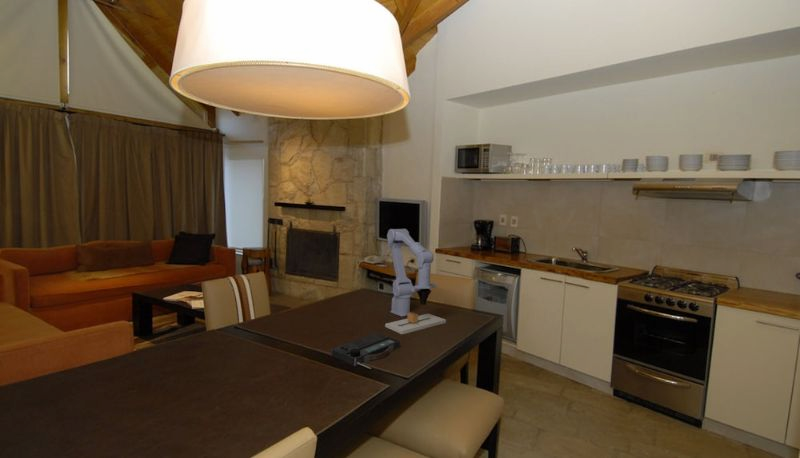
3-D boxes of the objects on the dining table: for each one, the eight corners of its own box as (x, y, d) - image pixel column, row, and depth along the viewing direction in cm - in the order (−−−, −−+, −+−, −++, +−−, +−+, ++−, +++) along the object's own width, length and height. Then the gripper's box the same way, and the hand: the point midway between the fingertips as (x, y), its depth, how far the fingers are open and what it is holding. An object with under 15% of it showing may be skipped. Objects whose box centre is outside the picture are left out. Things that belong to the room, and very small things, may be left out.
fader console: (385, 326, 187) (385, 323, 187) (428, 316, 205) (428, 313, 205) (402, 334, 178) (402, 330, 178) (445, 322, 196) (445, 319, 196)
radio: (376, 329, 171) (413, 342, 159) (376, 339, 172) (413, 352, 159) (331, 345, 152) (368, 361, 139) (330, 356, 153) (368, 373, 140)
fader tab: (407, 320, 190) (407, 312, 190) (412, 319, 192) (412, 311, 192) (413, 323, 187) (413, 314, 187) (417, 321, 189) (418, 313, 189)
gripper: (418, 279, 184) (417, 308, 185) (440, 276, 194) (439, 304, 195) (408, 276, 190) (407, 305, 191) (430, 273, 199) (429, 300, 200)
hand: (423, 304), depth 193 cm, fingers closed
